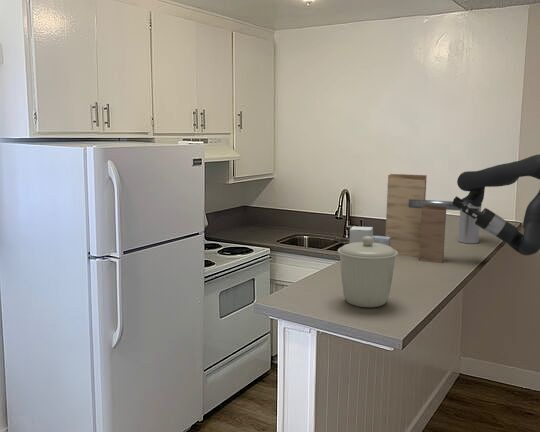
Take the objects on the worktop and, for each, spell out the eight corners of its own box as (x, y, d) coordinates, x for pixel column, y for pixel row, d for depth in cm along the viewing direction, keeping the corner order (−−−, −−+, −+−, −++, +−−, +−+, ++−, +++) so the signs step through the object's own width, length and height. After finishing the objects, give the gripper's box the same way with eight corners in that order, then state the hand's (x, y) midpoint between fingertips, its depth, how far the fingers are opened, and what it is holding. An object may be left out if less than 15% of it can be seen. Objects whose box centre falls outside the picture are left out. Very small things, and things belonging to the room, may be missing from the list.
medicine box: (390, 257, 232) (390, 236, 231) (387, 259, 228) (388, 238, 227) (371, 255, 235) (372, 235, 234) (368, 257, 231) (369, 237, 230)
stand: (387, 250, 245) (390, 173, 240) (422, 252, 240) (426, 175, 235) (384, 253, 239) (388, 175, 233) (420, 256, 234) (425, 176, 228)
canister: (403, 311, 165) (406, 242, 162) (343, 313, 164) (345, 242, 160) (385, 293, 183) (388, 230, 179) (331, 294, 181) (333, 230, 178)
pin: (409, 207, 230) (409, 198, 229) (468, 210, 222) (469, 201, 222) (408, 207, 227) (408, 199, 226) (468, 211, 219) (468, 202, 218)
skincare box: (372, 266, 217) (374, 226, 215) (370, 270, 211) (371, 230, 209) (351, 264, 220) (352, 225, 217) (348, 268, 214) (349, 228, 211)
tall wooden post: (420, 256, 233) (423, 203, 229) (443, 258, 230) (446, 204, 226) (419, 260, 227) (421, 205, 223) (442, 262, 224) (445, 207, 220)
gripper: (495, 211, 224) (460, 189, 227) (496, 217, 210) (458, 193, 214) (484, 226, 226) (449, 205, 229) (484, 233, 213) (447, 210, 216)
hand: (453, 199), depth 222 cm, fingers open, 8 cm apart
